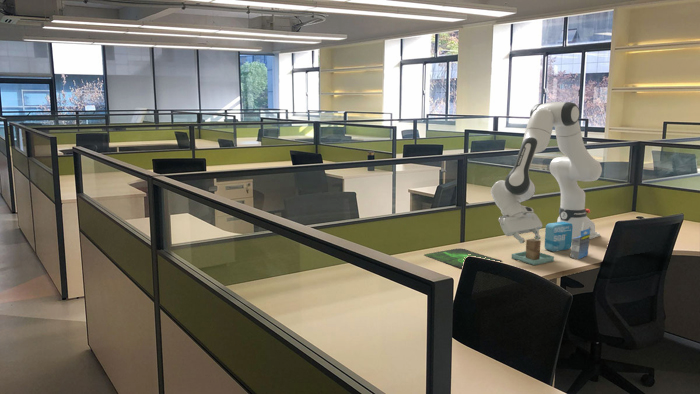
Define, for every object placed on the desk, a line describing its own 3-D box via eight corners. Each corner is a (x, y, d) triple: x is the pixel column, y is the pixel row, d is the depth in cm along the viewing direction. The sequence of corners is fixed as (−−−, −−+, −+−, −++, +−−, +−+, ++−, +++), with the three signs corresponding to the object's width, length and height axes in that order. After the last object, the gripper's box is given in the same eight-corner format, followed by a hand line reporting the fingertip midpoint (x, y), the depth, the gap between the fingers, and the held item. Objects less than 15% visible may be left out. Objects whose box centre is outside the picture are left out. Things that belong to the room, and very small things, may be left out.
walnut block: (532, 256, 242) (533, 238, 241) (539, 259, 239) (540, 240, 237) (525, 258, 240) (526, 239, 239) (532, 260, 237) (534, 241, 235)
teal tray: (531, 254, 248) (531, 250, 247) (553, 261, 237) (553, 256, 237) (511, 258, 242) (511, 253, 241) (533, 265, 231) (533, 260, 231)
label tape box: (579, 253, 249) (581, 226, 246) (588, 255, 246) (590, 228, 243) (569, 257, 243) (571, 229, 240) (579, 259, 240) (581, 231, 238)
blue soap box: (551, 252, 252) (553, 225, 249) (544, 249, 256) (545, 223, 253) (571, 249, 257) (573, 223, 255) (563, 246, 261) (565, 221, 259)
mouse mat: (421, 255, 248) (421, 253, 248) (459, 248, 259) (459, 246, 259) (464, 271, 225) (464, 268, 225) (504, 263, 236) (504, 260, 236)
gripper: (500, 212, 239) (517, 240, 232) (534, 207, 249) (551, 233, 242) (492, 221, 243) (509, 248, 237) (526, 215, 254) (542, 241, 247)
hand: (530, 240), depth 240 cm, fingers open, 8 cm apart
